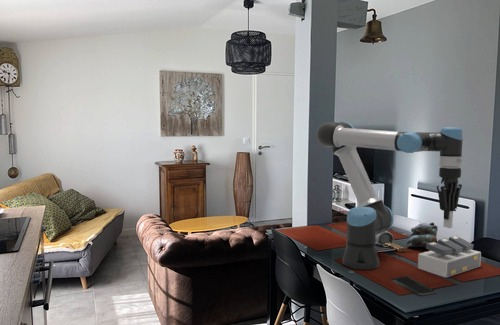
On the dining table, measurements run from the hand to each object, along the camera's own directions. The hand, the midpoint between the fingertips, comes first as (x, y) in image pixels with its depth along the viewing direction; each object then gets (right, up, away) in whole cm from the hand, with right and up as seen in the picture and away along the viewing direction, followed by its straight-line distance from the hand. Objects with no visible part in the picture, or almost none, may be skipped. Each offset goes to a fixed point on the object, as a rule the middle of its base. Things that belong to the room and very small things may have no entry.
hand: (447, 227), depth 152 cm
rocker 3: (+11, -9, +11) cm, 18 cm away
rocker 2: (+5, -9, +7) cm, 12 cm away
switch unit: (+5, -18, +8) cm, 20 cm away
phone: (-19, -20, -12) cm, 30 cm away
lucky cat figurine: (+5, -16, +35) cm, 39 cm away
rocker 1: (-2, -9, +3) cm, 10 cm away
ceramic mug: (-13, -16, +39) cm, 44 cm away
